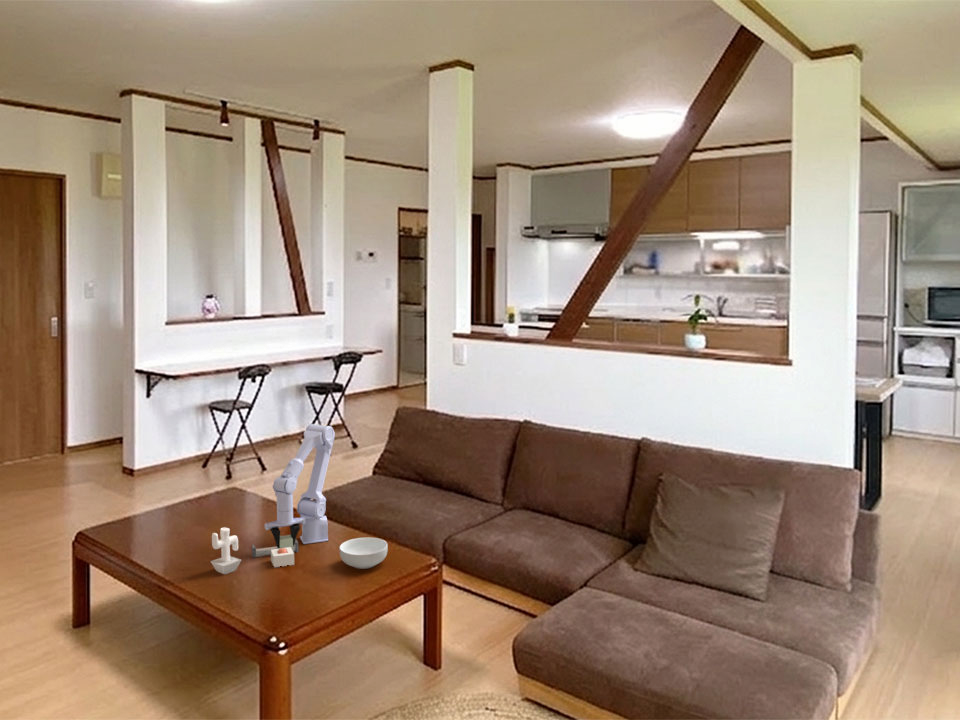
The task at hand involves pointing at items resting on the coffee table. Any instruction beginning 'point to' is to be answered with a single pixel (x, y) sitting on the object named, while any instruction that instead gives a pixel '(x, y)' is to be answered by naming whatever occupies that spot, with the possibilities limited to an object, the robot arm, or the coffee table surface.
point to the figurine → (225, 551)
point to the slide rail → (269, 550)
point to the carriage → (286, 541)
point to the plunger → (282, 551)
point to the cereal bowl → (363, 552)
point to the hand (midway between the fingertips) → (285, 545)
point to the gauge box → (282, 557)
